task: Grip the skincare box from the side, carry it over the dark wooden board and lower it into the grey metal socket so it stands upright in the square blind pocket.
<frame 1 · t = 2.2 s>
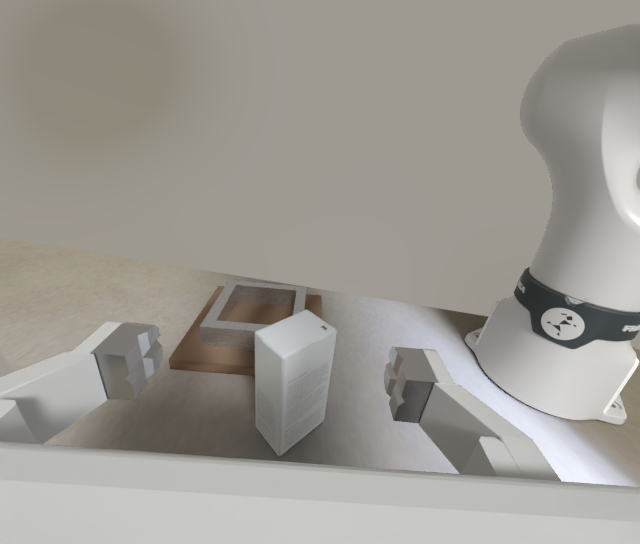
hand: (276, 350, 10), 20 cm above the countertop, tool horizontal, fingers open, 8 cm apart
skincare box: (289, 425, 29), on the countertop
socket board: (260, 329, 43), on the countertop
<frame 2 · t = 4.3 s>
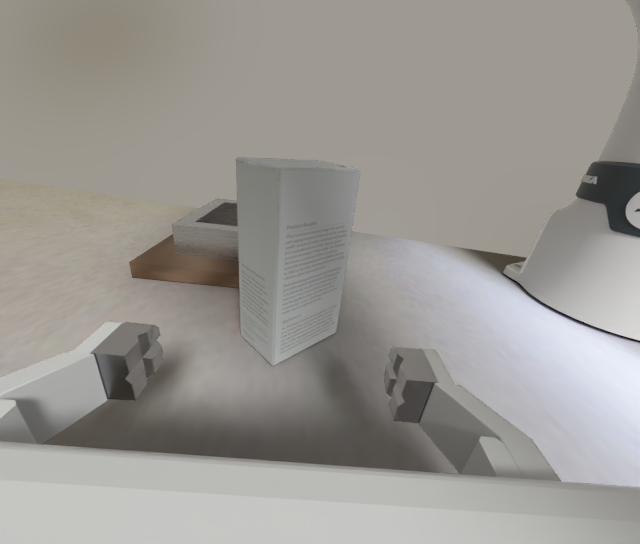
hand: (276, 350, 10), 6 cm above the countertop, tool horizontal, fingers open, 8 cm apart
skincare box: (288, 336, 21), on the countertop
socket board: (253, 252, 34), on the countertop
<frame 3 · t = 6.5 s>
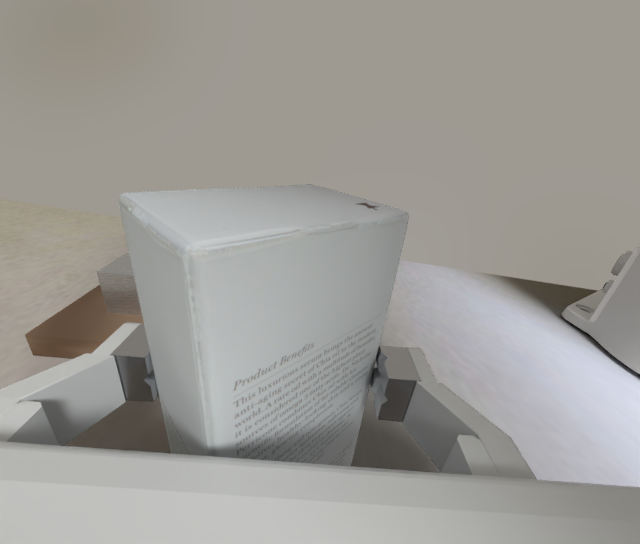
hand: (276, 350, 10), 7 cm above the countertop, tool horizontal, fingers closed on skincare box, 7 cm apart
skincare box: (266, 487, 12), on the countertop, touching gripper
socket board: (230, 294, 25), on the countertop
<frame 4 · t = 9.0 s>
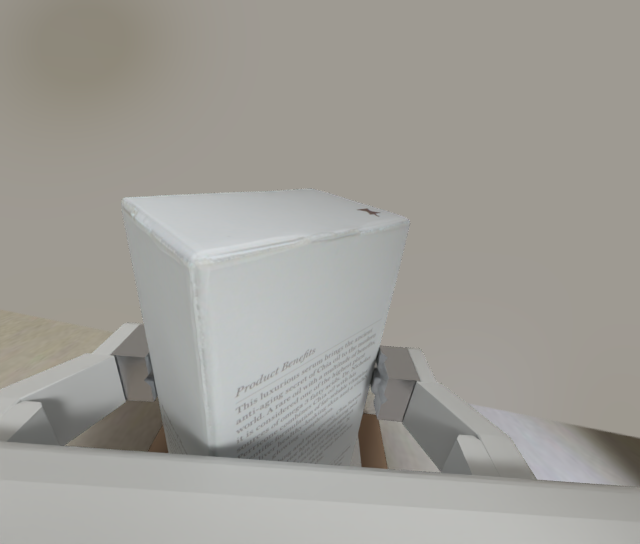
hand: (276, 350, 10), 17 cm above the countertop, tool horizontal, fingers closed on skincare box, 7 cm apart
skincare box: (264, 490, 12), point 10 cm above the countertop, touching gripper
socket board: (257, 542, 18), on the countertop
when the fingers open (9 cm above the countertop, at t = 11.7 s): skincare box stays where it is, resting on socket board.
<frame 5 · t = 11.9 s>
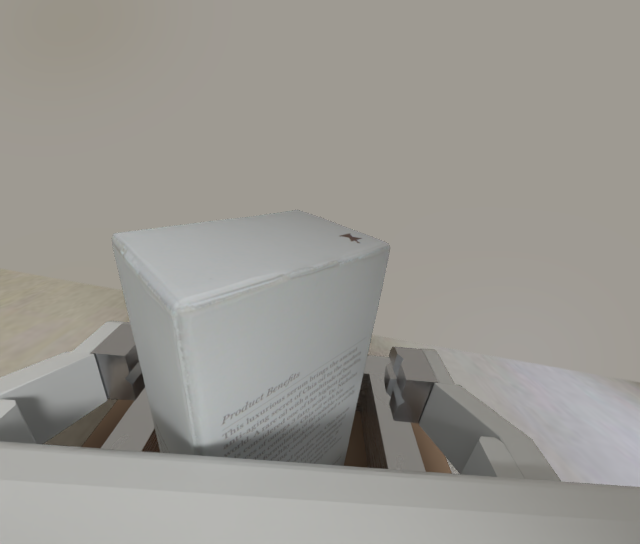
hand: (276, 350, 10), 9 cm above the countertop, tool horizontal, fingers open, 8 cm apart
skincare box: (258, 500, 13), point 1 cm above the countertop, touching socket board
socket board: (265, 515, 13), on the countertop
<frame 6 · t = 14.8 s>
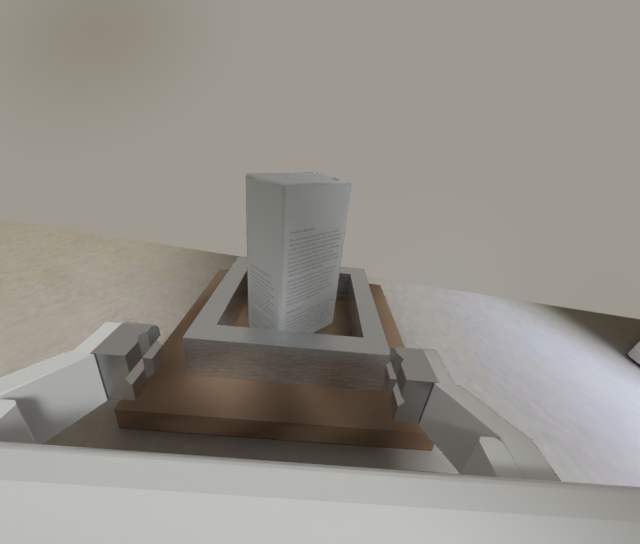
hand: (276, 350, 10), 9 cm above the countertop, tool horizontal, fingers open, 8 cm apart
skincare box: (290, 327, 24), point 1 cm above the countertop, touching socket board
socket board: (293, 339, 25), on the countertop
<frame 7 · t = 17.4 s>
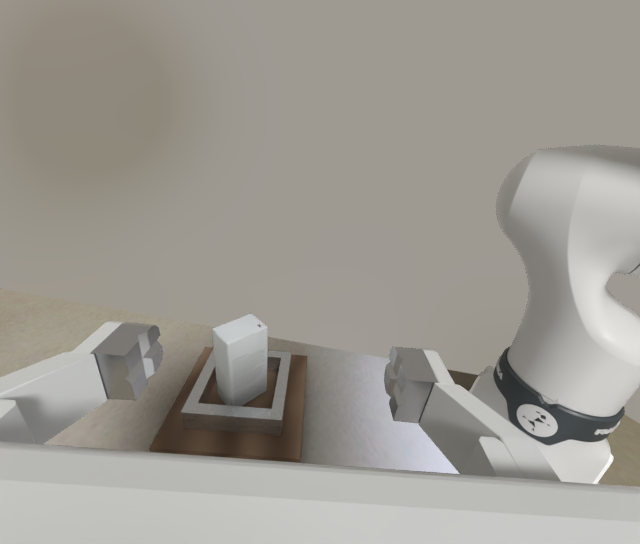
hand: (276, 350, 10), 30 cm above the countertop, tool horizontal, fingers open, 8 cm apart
skincare box: (241, 393, 43), point 1 cm above the countertop, touching socket board
socket board: (244, 400, 43), on the countertop
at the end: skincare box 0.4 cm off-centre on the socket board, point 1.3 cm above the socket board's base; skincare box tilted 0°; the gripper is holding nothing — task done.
